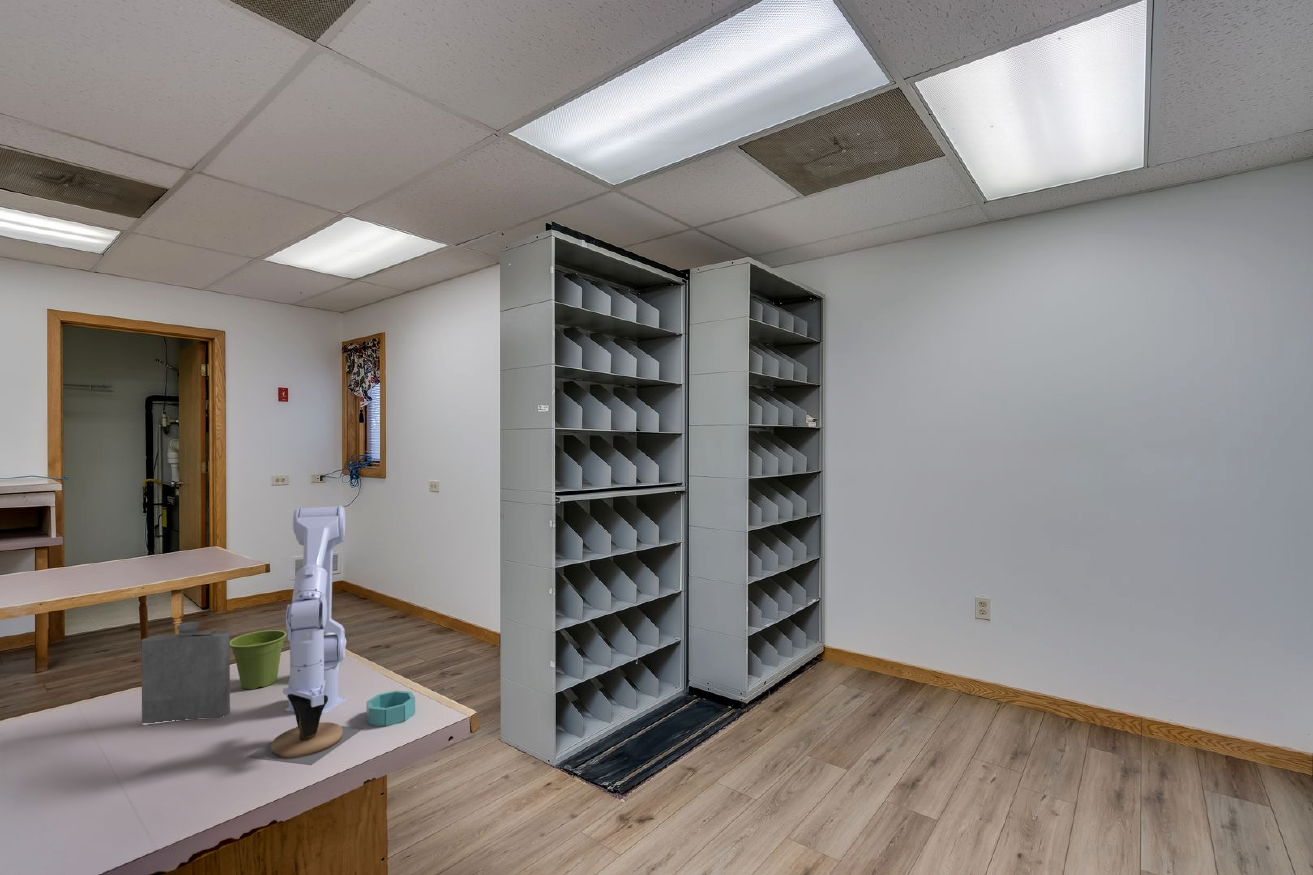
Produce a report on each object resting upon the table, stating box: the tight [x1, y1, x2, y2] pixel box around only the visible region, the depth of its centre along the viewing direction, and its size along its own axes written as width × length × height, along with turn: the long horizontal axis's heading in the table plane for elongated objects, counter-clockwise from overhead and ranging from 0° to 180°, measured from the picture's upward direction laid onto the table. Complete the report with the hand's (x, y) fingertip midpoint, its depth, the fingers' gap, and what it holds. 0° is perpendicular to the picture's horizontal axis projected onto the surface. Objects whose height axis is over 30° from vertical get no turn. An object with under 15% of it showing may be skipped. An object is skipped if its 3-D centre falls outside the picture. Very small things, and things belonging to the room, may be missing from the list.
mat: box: [246, 725, 364, 766], centre depth 118 cm, size 14×14×1 cm
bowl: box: [365, 690, 416, 727], centre depth 129 cm, size 9×9×4 cm
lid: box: [271, 717, 342, 758], centre depth 118 cm, size 12×12×5 cm
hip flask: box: [140, 621, 231, 724], centre depth 130 cm, size 16×4×20 cm, turn 104°
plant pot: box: [230, 629, 288, 690], centre depth 148 cm, size 12×12×11 cm
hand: (307, 731), depth 118 cm, fingers closed on lid, 3 cm apart
